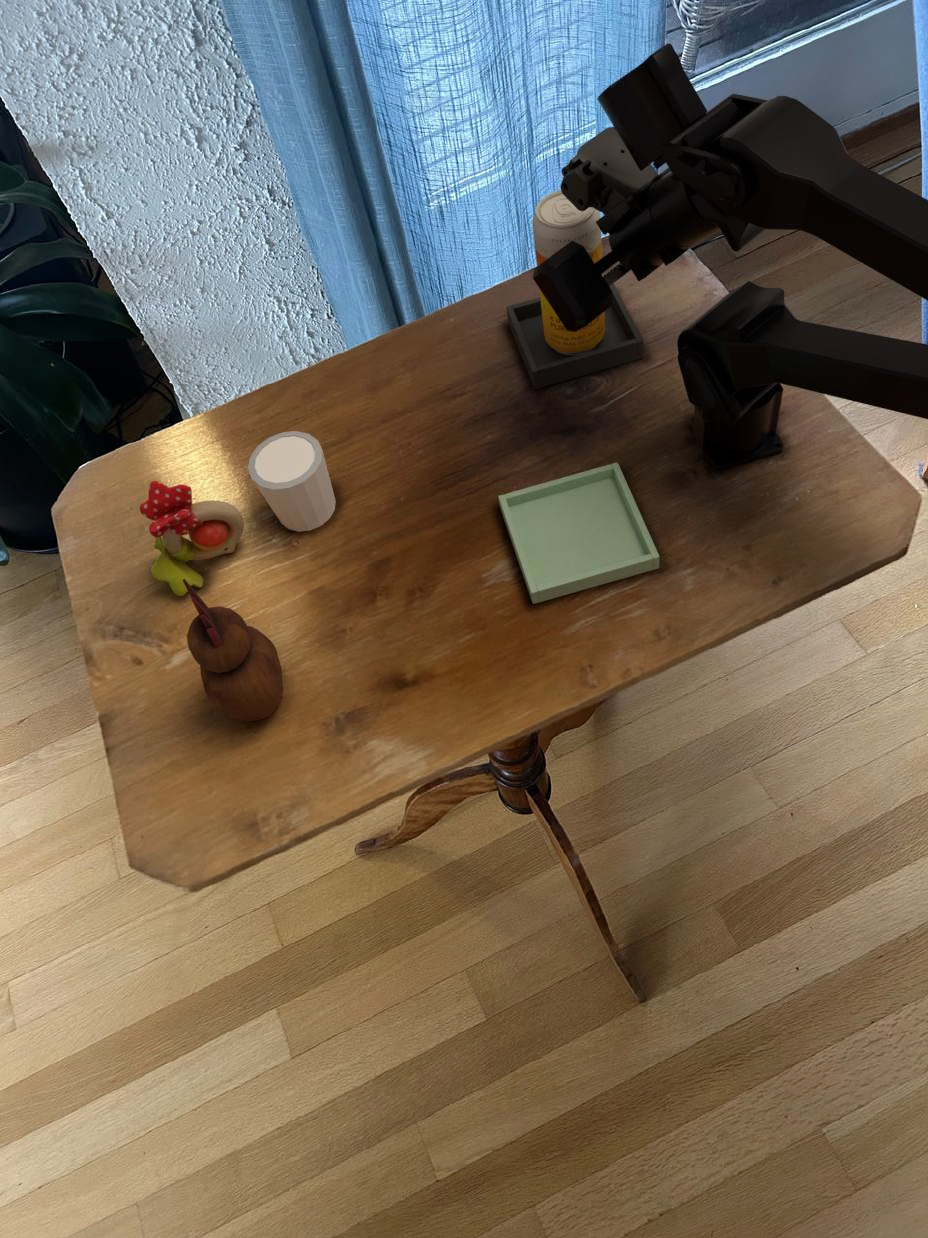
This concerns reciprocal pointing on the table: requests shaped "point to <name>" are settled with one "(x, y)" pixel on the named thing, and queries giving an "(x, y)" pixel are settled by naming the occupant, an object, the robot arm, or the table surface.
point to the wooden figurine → (234, 662)
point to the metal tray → (555, 367)
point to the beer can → (551, 233)
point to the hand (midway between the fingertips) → (585, 272)
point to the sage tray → (577, 533)
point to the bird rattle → (188, 532)
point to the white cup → (294, 479)
